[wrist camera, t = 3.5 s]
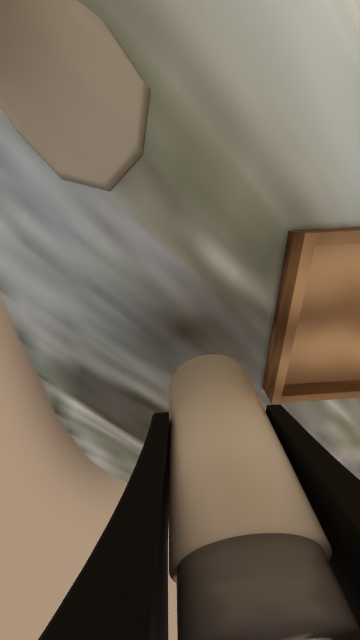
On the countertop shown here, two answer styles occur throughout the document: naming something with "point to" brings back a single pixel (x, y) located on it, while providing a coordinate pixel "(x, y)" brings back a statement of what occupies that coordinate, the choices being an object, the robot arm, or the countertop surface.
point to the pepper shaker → (242, 520)
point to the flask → (71, 90)
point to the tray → (317, 319)
